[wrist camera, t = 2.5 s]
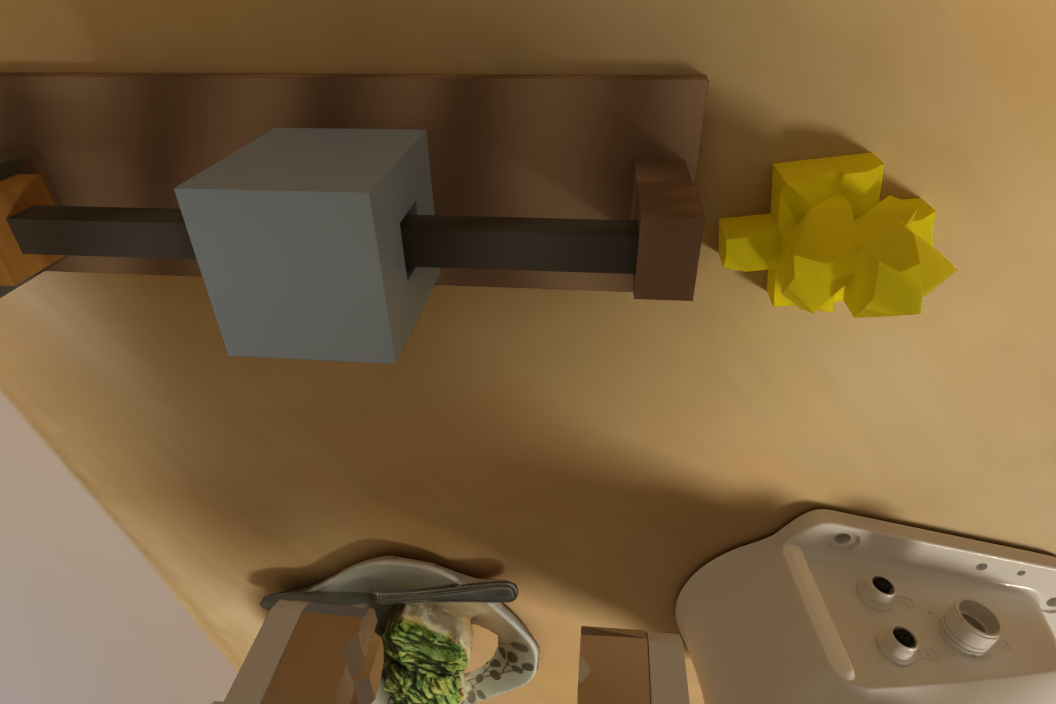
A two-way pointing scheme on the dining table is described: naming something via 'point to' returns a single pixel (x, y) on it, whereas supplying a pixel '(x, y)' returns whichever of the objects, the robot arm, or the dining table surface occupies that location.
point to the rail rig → (368, 103)
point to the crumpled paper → (838, 240)
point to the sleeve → (313, 242)
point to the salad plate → (431, 628)
